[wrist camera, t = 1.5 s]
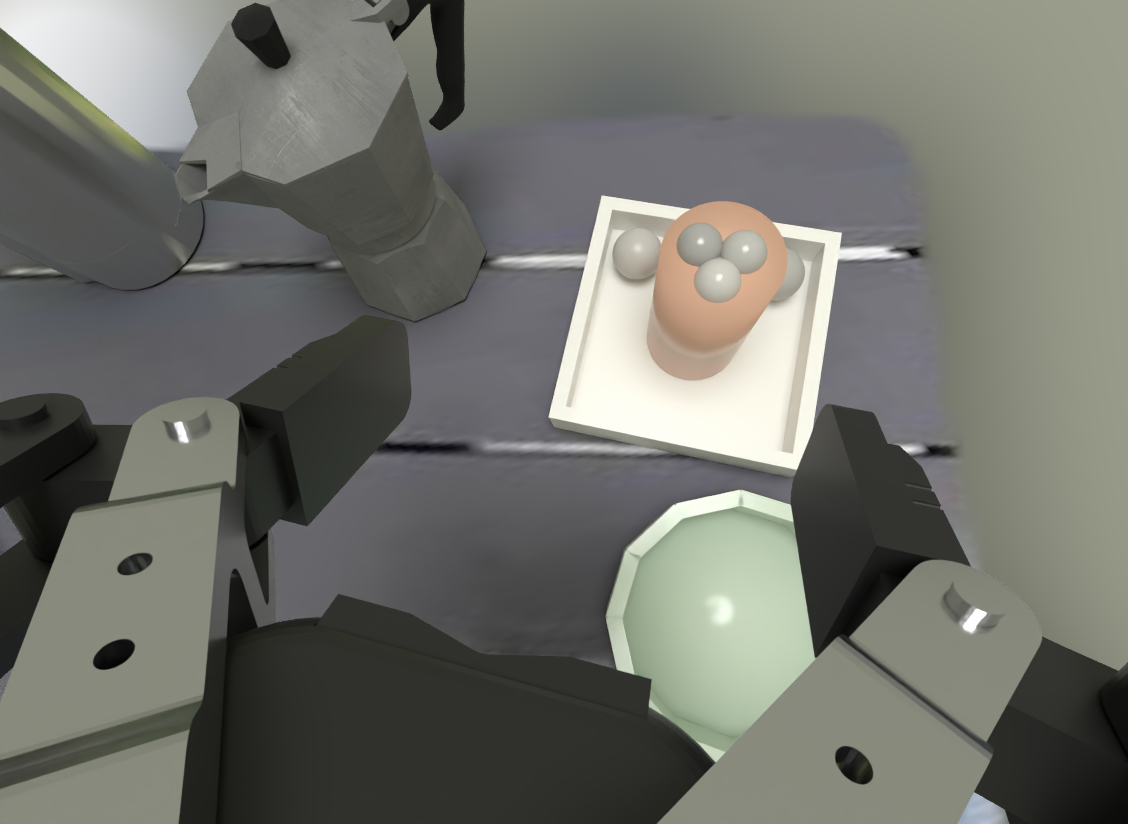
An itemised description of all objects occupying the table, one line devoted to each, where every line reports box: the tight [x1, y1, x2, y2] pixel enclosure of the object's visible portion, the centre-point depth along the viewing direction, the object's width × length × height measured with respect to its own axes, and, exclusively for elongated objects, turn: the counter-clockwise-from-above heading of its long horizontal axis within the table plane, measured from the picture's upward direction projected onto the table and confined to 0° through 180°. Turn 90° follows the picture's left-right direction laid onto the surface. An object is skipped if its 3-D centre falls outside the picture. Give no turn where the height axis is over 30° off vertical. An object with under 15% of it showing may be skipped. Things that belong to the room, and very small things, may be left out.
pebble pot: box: [647, 201, 788, 380], centre depth 29 cm, size 5×5×11 cm
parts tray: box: [549, 196, 842, 477], centre depth 33 cm, size 14×14×4 cm
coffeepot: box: [175, 0, 486, 322], centre depth 29 cm, size 15×9×18 cm, turn 136°
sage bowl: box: [606, 490, 816, 762], centre depth 29 cm, size 13×13×4 cm
